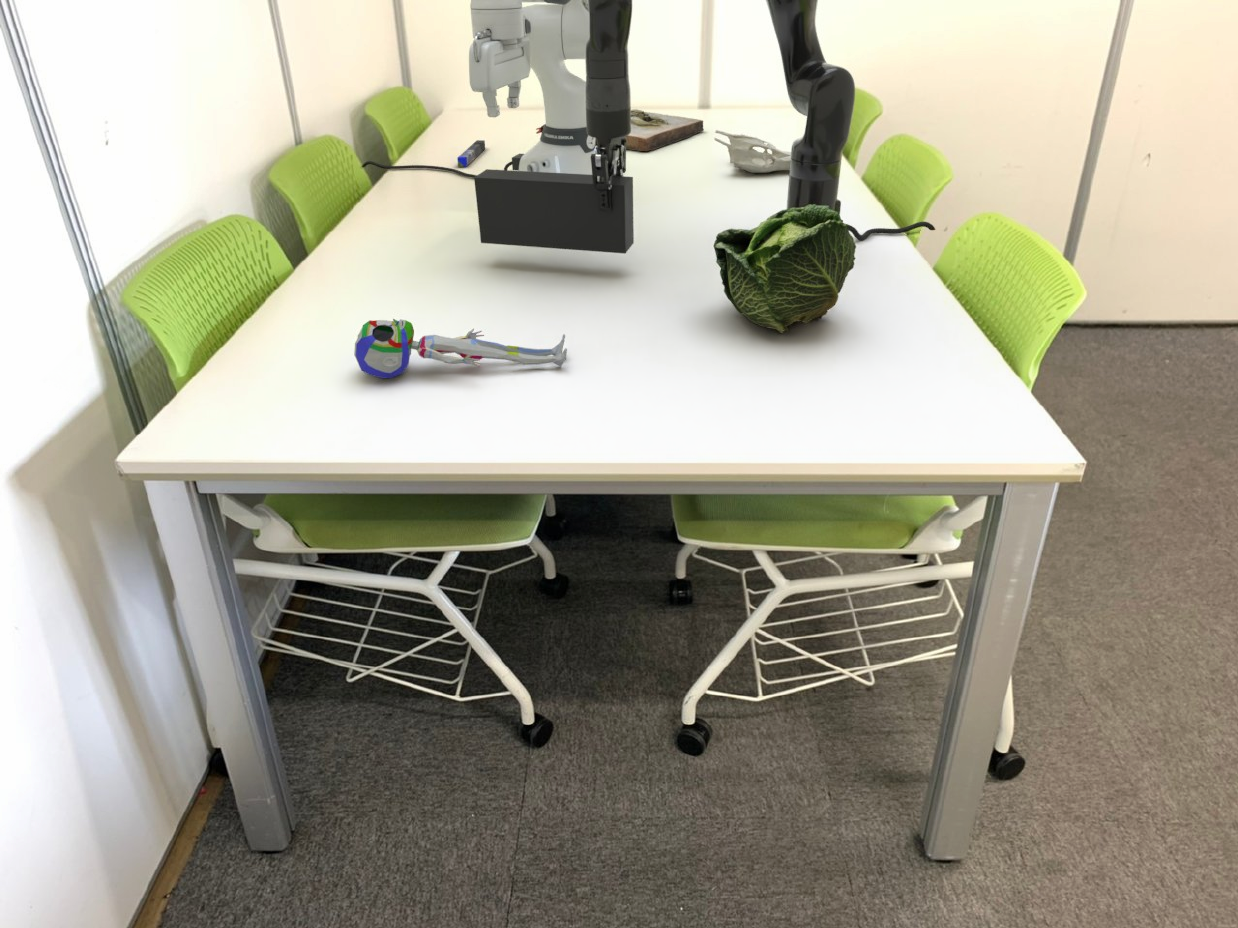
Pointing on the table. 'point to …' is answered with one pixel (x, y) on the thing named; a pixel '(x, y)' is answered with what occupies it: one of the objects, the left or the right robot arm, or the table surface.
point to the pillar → (471, 153)
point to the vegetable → (786, 265)
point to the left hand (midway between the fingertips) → (503, 112)
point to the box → (553, 211)
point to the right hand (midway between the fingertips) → (610, 205)
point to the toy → (435, 349)
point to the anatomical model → (754, 154)
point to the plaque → (659, 130)
